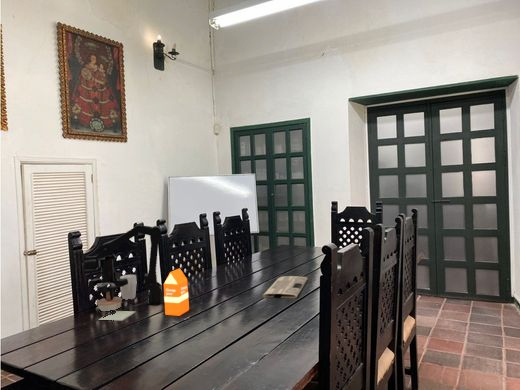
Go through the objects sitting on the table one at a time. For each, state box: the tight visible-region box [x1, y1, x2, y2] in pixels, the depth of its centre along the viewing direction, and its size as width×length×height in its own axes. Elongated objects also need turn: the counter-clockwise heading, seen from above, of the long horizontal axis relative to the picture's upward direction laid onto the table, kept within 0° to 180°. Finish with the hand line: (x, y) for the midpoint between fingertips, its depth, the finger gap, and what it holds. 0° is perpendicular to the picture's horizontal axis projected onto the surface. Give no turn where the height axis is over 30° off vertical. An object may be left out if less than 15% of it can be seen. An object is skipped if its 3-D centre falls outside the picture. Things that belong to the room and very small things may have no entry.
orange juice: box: [163, 268, 190, 317], centre depth 184 cm, size 8×9×20 cm
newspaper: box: [262, 275, 308, 299], centre depth 217 cm, size 37×19×3 cm, turn 164°
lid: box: [96, 291, 123, 306], centre depth 195 cm, size 12×12×5 cm
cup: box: [119, 274, 137, 301], centre depth 212 cm, size 9×9×12 cm
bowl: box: [97, 301, 122, 311], centre depth 195 cm, size 10×10×4 cm
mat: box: [98, 310, 136, 322], centre depth 183 cm, size 12×12×1 cm
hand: (109, 299), depth 195 cm, fingers closed on lid, 3 cm apart
